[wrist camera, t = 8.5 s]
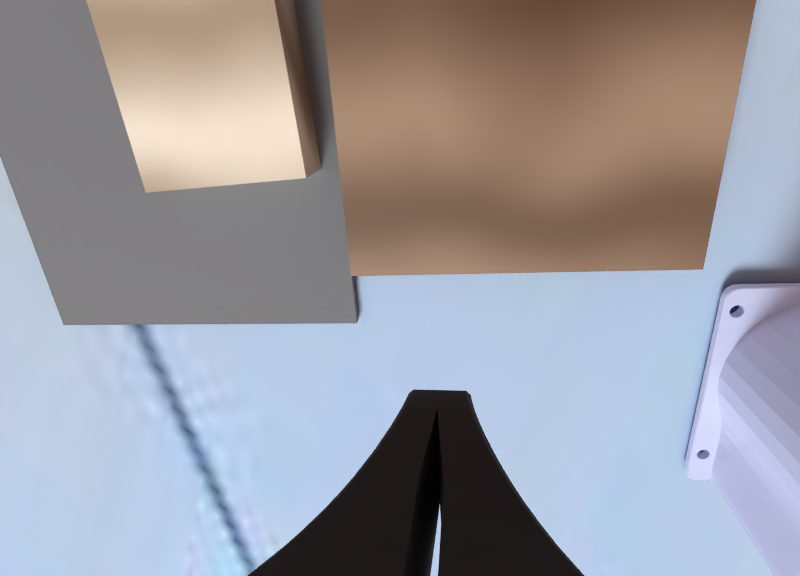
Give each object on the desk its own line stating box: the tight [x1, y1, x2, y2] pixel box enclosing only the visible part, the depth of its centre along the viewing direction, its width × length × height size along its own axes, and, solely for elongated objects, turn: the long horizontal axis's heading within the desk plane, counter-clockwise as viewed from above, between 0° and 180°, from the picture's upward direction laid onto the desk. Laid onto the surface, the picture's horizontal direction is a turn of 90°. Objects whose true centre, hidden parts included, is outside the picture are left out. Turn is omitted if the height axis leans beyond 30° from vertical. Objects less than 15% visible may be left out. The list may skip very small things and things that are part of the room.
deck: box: [321, 0, 756, 276], centre depth 15 cm, size 16×12×2 cm
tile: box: [86, 0, 321, 193], centre depth 16 cm, size 9×6×2 cm, turn 6°
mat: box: [0, 0, 358, 325], centre depth 17 cm, size 22×14×1 cm, turn 4°
